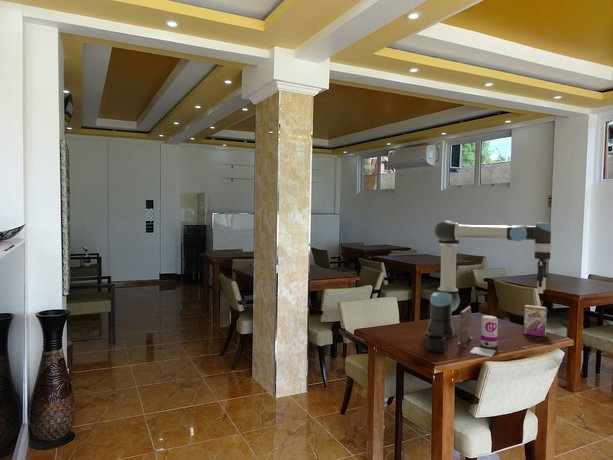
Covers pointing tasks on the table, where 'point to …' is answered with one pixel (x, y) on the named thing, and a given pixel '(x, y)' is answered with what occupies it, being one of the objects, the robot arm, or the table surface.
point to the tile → (482, 351)
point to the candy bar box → (535, 320)
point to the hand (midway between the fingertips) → (541, 291)
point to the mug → (436, 343)
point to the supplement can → (489, 331)
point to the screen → (465, 327)
